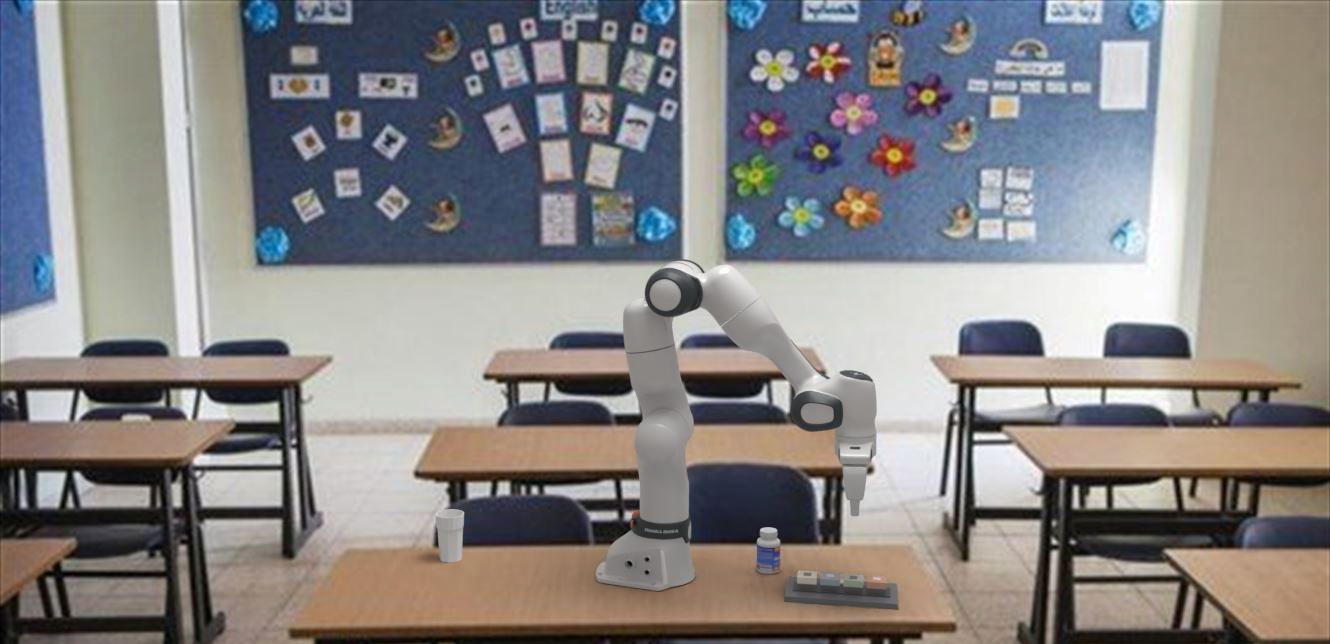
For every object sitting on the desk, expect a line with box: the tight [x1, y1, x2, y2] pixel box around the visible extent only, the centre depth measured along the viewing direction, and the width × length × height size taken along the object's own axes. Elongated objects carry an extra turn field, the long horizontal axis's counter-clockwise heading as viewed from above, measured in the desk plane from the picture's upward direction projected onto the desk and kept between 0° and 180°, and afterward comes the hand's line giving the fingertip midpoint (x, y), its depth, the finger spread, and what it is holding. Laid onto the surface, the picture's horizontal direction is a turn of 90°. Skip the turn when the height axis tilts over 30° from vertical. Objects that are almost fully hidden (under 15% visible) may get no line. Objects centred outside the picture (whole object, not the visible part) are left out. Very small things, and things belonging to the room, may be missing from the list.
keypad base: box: [784, 575, 899, 610], centre depth 272 cm, size 24×12×2 cm, turn 81°
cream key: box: [796, 569, 818, 585], centre depth 273 cm, size 4×4×2 cm
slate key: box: [819, 571, 841, 586], centre depth 272 cm, size 4×4×2 cm
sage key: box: [843, 573, 864, 588], centre depth 271 cm, size 4×4×2 cm
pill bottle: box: [756, 526, 781, 575], centre depth 286 cm, size 5×5×10 cm
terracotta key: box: [866, 574, 888, 589], centre depth 270 cm, size 4×4×2 cm
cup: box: [435, 508, 465, 564], centre depth 292 cm, size 7×7×11 cm
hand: (855, 508), depth 269 cm, fingers open, 8 cm apart
